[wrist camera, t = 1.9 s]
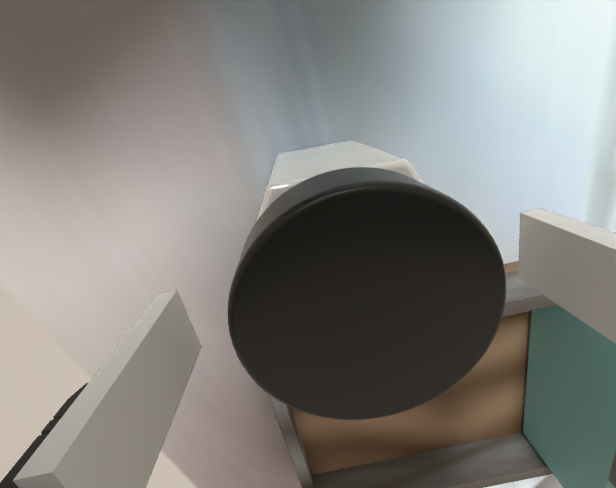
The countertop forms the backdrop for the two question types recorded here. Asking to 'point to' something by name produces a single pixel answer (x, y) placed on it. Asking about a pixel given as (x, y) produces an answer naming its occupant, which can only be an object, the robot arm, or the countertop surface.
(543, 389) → the panel
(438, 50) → the countertop surface
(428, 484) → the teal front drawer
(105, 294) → the countertop surface
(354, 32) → the countertop surface
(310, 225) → the jar
